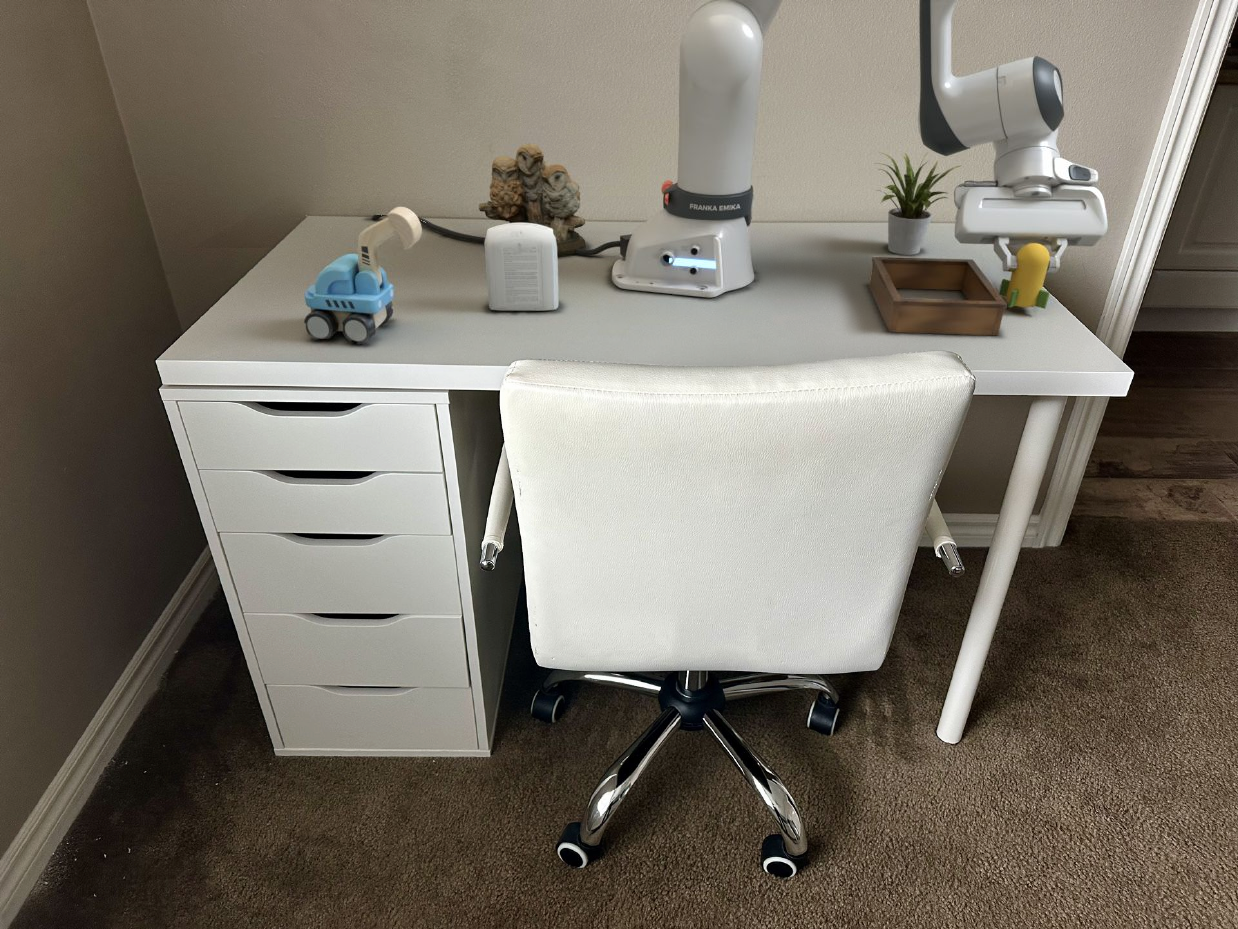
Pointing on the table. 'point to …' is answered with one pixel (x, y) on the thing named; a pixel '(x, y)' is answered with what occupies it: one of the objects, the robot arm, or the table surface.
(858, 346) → the table surface
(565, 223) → the owl figurine
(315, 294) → the toy excavator
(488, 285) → the white rounded block
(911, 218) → the house plant
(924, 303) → the wooden box
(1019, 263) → the corn plush toy
